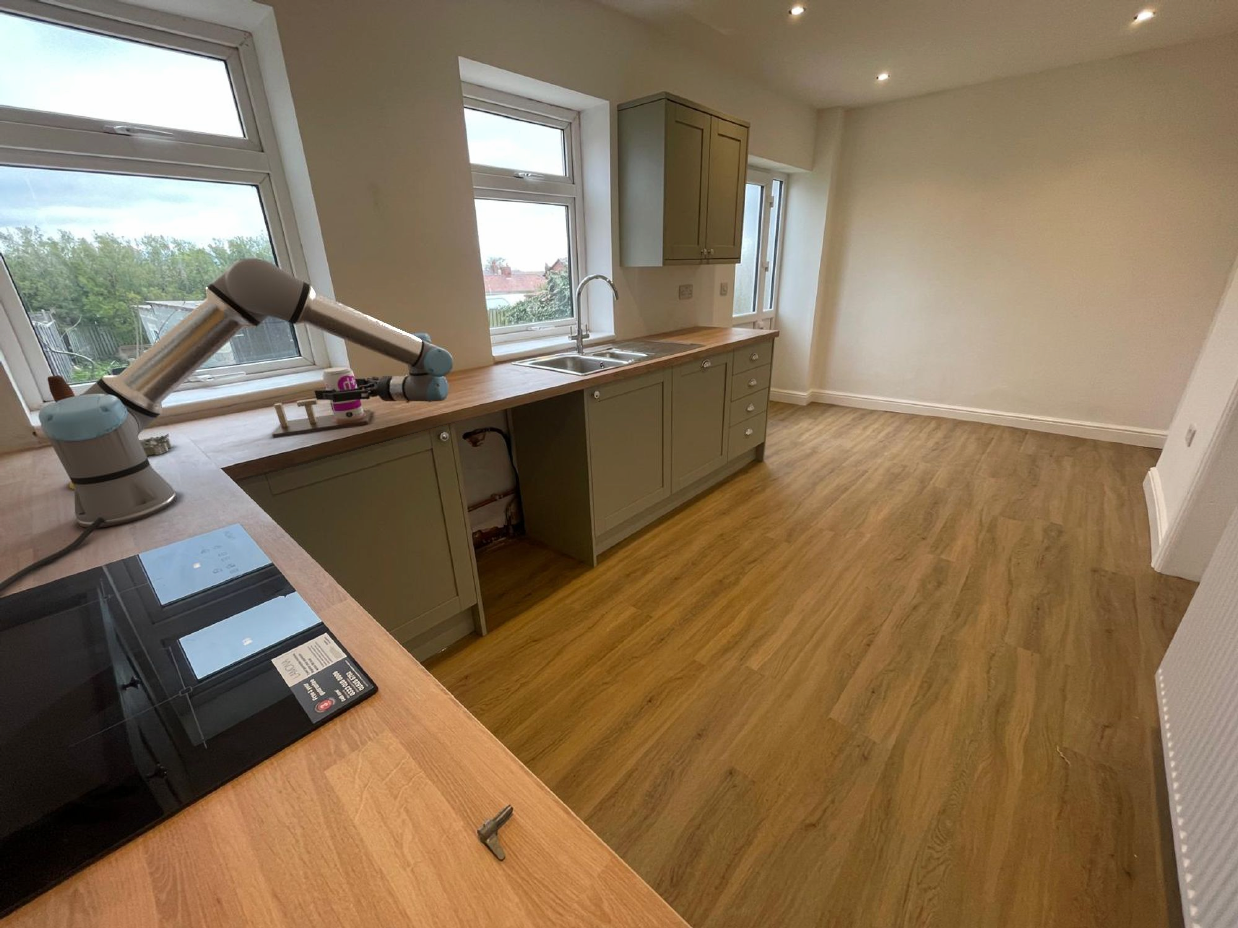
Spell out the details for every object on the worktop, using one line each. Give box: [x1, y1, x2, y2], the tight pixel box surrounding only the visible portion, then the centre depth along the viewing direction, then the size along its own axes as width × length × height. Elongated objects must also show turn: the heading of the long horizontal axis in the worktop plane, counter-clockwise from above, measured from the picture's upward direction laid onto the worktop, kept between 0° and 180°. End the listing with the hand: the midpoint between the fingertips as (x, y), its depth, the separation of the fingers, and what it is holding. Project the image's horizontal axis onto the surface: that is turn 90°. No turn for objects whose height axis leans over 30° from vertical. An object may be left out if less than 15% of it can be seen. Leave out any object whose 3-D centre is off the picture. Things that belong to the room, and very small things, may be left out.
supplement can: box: [322, 365, 364, 420], centre depth 152 cm, size 8×8×15 cm
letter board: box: [272, 398, 372, 438], centre depth 152 cm, size 13×25×8 cm, turn 111°
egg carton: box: [139, 433, 173, 457], centre depth 136 cm, size 11×8×4 cm
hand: (332, 388), depth 152 cm, fingers open, 13 cm apart
